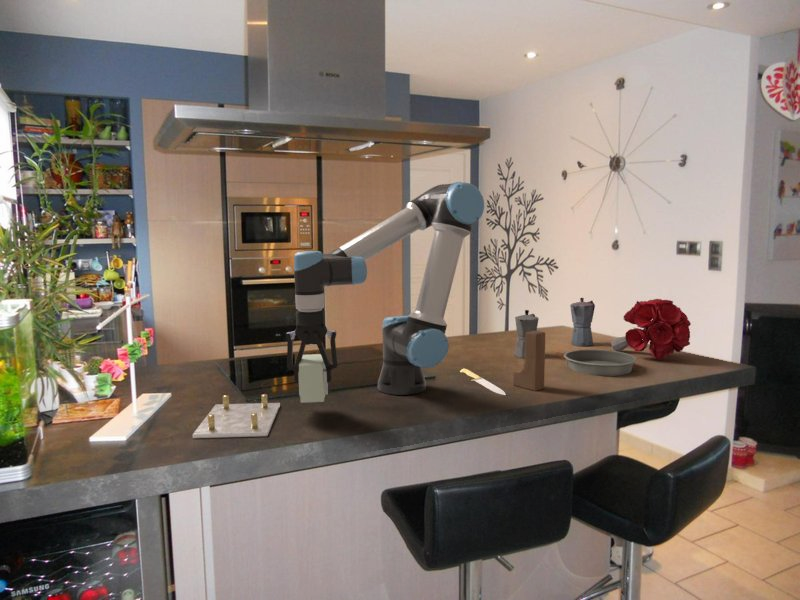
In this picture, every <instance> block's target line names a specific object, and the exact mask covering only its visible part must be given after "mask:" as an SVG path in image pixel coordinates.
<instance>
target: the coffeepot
mask: <svg viewBox="0 0 800 600" xmlns="http://www.w3.org/2000/svg"><path fill="white" fill-rule="evenodd" d="M529 313H530V310H528V309H525V310H524V314H523V315H522V314H521V315H518V316H515V317H514V318H515V327H516V335H517V339H516V343H515V348H514V349H515V350H514V356H515V357H516V358H519V359H525V339H526V332H530V331H538V324H539V317H538V316H536V315H535V314H534V313H531V314H529Z"/></svg>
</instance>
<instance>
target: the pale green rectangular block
mask: <svg viewBox="0 0 800 600" xmlns="http://www.w3.org/2000/svg"><path fill="white" fill-rule="evenodd" d="M324 369H326V367H325V364H324V362H323V359H322V356H321V354H320V353H317V354H316V353H313V354H303V356H302V360H301V361H300V364H299V379H300V396H299V398H300V399H299V400H300V403H301V404H303V403H304V404H305V403H323V402H325V397H326V395H325V392H324Z"/></svg>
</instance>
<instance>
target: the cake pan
mask: <svg viewBox="0 0 800 600" xmlns="http://www.w3.org/2000/svg"><path fill="white" fill-rule="evenodd" d="M563 357H564V359H566V360H567V361H566V362H567V365H568V368H569V369H570V370H573V371H575V372H577V373H580V374H581V373H582V374H585V375H593V376H604V377H605V376H607V377H608V376H611V377H612V376H623V375H627V374H630V373H631V372H632V371H633V367H634V364H635V363H636V362H637V361H638V358H637V357H636V356H635V355H632V354H629V353H626V352H623V351H619V352H618V351H615V350H610V349H609V350H608V349H595V348H594V349H592V348H591V349H590V348H589V349H587V348H586V349H576V350H571V351H567V352H565V353H564V354H563Z"/></svg>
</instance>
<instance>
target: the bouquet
mask: <svg viewBox="0 0 800 600" xmlns="http://www.w3.org/2000/svg"><path fill="white" fill-rule="evenodd" d="M623 320H624V321H625V323H626V322H627V323H630V324H631V325H636V326H637V327H632V328H629V329H628V330H627V331H626V332H625V335H624V336H620V337H616V338H614V339H612V340H611V342H610V344H611V348H612V349H613V351H618V352H623V351H624V350H625V349H627V348H628V347H629V348H631V349H633V350H634V351H635V352H639V353H640V352H642V351H644V350H645V349H647V347H648V350H649V352H650V354H651V355H652V356H653V357H654V358H655V360H656V361H657V360H663V359H664V358H665V357H667V356H669V355H672V354H674V352H677V353H680V352H682V351H683V349H684V348H685V347H688V346H690V345H691V342H690V339H691V331H690V326H691V322H690V320H689V318H688V316H687V314H686V313H685V312H683V310H682V309H681V307H679V306H677V305H676V304H674V301H673V300H669V299H661V298H655V299H654V298H653V299H649V300H647V301H646V300H644V301H643V300H641V301H638V300H636V303H635V304H634V306H633V307H631V309H630V310H628V311H627V312H625V314H624V315H623ZM648 344H649V346H648Z"/></svg>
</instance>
